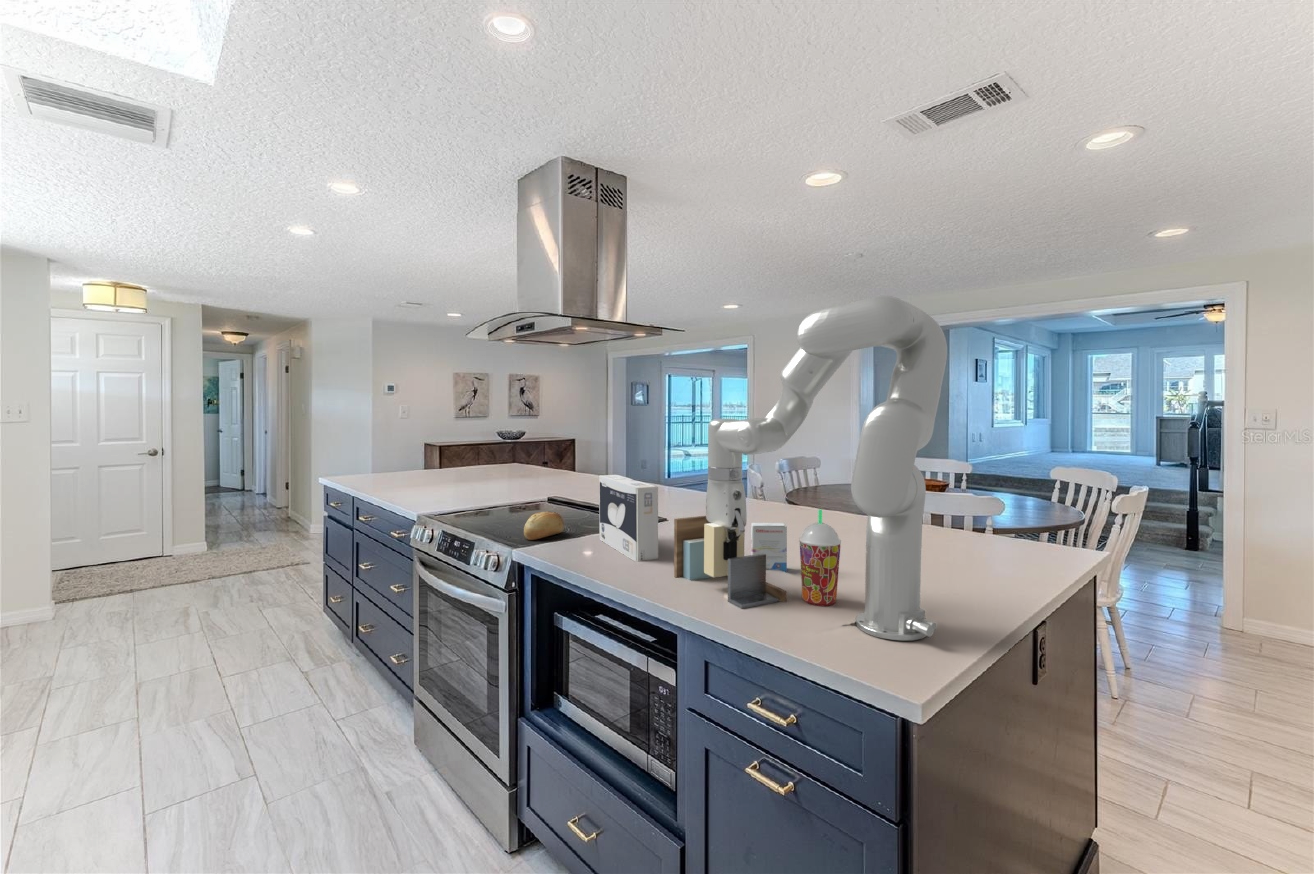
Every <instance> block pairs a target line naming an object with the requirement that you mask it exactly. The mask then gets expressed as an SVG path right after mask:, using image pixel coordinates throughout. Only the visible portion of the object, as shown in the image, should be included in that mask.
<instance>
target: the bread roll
mask: <svg viewBox="0 0 1314 874" xmlns="http://www.w3.org/2000/svg"><path fill="white" fill-rule="evenodd" d="M564 529H565V523H564V520H563V517H562V515H561V514H560V513H558V512H556V511H554V512H552V511H541V512H536V513H534V514H532V515H530V516H529V518H528V519H527V521H526V522H525V524H524V527H523V536H524V538H525V539H526V540H528V541H535V540H539V539H544V538H547V537H549V536H553V535H557V534H561V533H562V532H563V531H564Z"/></svg>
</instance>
